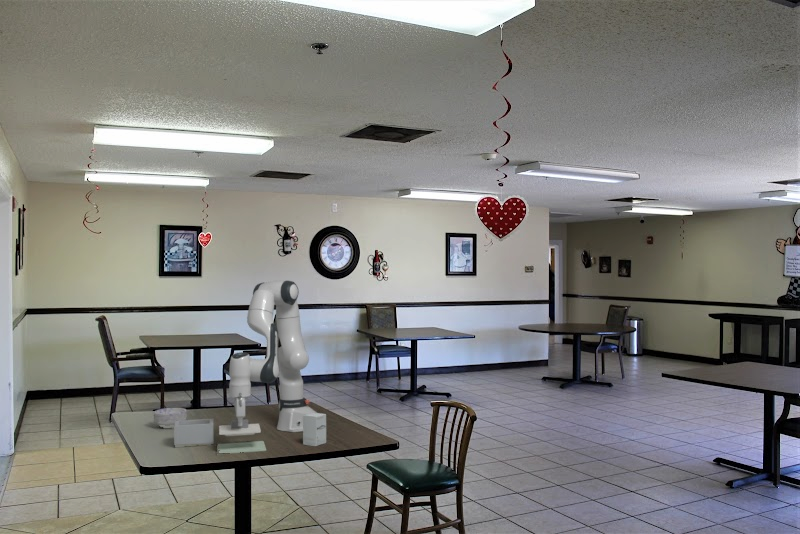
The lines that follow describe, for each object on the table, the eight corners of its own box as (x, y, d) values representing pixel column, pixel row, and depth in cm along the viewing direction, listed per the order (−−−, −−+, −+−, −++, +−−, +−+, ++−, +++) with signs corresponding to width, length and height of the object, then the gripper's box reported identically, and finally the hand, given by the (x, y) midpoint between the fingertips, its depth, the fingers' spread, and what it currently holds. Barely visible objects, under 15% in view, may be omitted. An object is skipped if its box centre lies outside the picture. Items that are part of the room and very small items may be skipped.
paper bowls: (176, 430, 325) (176, 413, 326) (147, 429, 328) (147, 412, 329) (192, 424, 340) (192, 407, 340) (164, 423, 343) (164, 407, 344)
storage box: (213, 438, 308) (213, 418, 308) (213, 445, 296) (213, 424, 296) (175, 441, 304) (175, 420, 304) (174, 447, 292) (174, 426, 292)
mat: (263, 442, 301) (263, 440, 301) (266, 450, 285) (266, 449, 285) (215, 445, 296) (215, 444, 296) (216, 454, 280) (216, 453, 280)
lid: (258, 429, 299) (258, 416, 299) (260, 435, 287) (260, 422, 287) (219, 431, 294) (219, 418, 295) (219, 437, 282) (219, 424, 282)
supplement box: (316, 446, 292) (315, 416, 292) (302, 444, 296) (302, 415, 296) (326, 443, 298) (326, 413, 298) (313, 441, 302) (313, 412, 302)
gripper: (248, 395, 282) (248, 429, 281) (246, 387, 301) (246, 419, 301) (232, 396, 280) (232, 430, 280) (231, 388, 300) (231, 420, 299)
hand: (239, 424), depth 291 cm, fingers closed on lid, 3 cm apart
